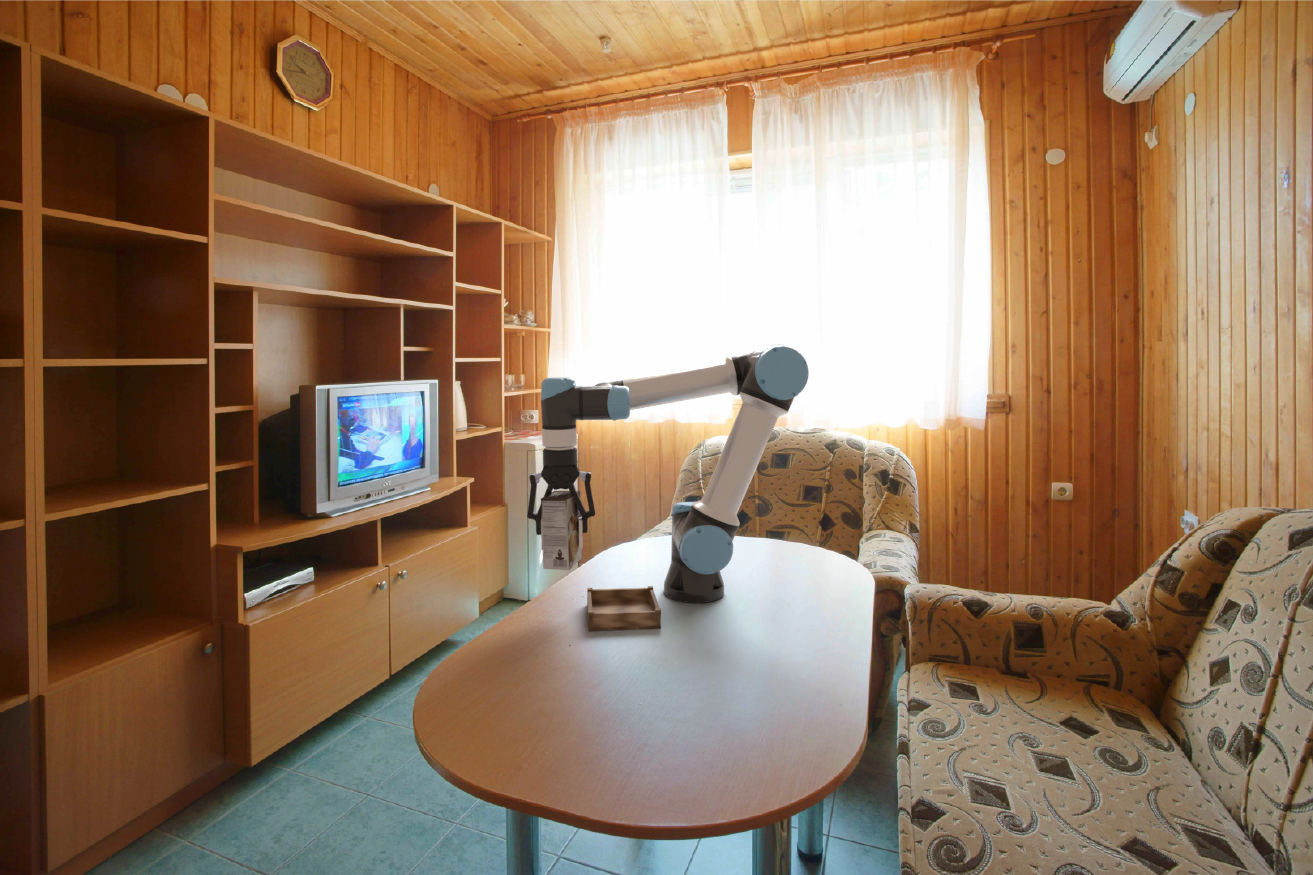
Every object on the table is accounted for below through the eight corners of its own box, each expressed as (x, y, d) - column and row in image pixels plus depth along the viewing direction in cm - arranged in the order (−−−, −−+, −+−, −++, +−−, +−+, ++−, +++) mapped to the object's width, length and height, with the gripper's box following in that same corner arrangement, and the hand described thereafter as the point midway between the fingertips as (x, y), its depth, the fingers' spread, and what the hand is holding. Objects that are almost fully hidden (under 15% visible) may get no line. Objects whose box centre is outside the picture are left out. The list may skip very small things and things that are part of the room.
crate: (652, 602, 163) (652, 585, 163) (660, 628, 148) (660, 609, 147) (587, 604, 161) (587, 587, 161) (588, 631, 146) (588, 612, 145)
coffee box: (556, 557, 159) (554, 489, 157) (582, 558, 157) (581, 490, 155) (542, 569, 150) (540, 497, 148) (570, 570, 148) (568, 498, 146)
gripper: (605, 444, 155) (607, 541, 158) (514, 446, 153) (517, 545, 156) (606, 448, 148) (608, 550, 151) (511, 450, 145) (514, 554, 148)
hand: (562, 547), depth 153 cm, fingers closed on coffee box, 8 cm apart
